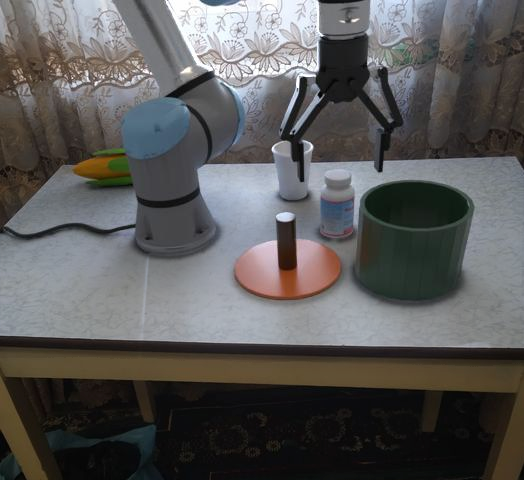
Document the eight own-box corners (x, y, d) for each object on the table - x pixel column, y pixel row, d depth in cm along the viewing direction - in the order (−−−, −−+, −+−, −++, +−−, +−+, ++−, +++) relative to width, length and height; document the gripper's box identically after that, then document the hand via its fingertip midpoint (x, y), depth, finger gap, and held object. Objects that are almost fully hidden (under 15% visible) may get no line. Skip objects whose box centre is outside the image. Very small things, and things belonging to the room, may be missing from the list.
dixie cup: (279, 205, 108) (277, 157, 101) (270, 188, 114) (267, 142, 108) (318, 199, 109) (318, 151, 102) (307, 183, 115) (307, 136, 108)
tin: (370, 309, 80) (377, 237, 72) (344, 253, 93) (347, 186, 84) (476, 296, 81) (494, 223, 73) (436, 242, 93) (448, 174, 85)
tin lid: (240, 309, 82) (234, 253, 76) (231, 250, 96) (225, 198, 89) (352, 295, 83) (356, 238, 77) (328, 239, 97) (329, 186, 90)
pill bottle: (351, 241, 96) (354, 182, 88) (318, 239, 97) (318, 181, 89) (353, 225, 100) (357, 167, 93) (322, 223, 101) (322, 166, 94)
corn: (153, 151, 114) (61, 158, 114) (159, 185, 119) (71, 192, 119) (157, 141, 120) (70, 148, 120) (163, 174, 125) (79, 180, 125)
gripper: (261, 48, 73) (271, 192, 87) (435, 29, 75) (417, 174, 88) (255, 37, 79) (265, 174, 93) (417, 19, 80) (403, 157, 94)
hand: (339, 174), depth 91 cm, fingers open, 13 cm apart
